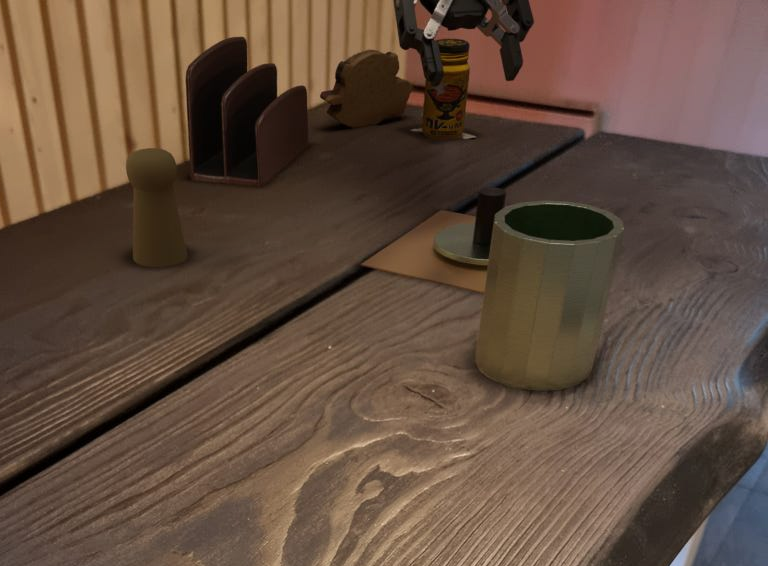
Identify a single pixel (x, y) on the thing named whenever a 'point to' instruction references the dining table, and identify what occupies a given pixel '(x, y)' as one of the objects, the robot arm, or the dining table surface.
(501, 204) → the lid
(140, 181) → the pepper shaker
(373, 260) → the cork mat
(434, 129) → the condiment
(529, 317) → the green cylindrical container
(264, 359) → the dining table surface
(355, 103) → the wooden carving
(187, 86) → the letter holder
